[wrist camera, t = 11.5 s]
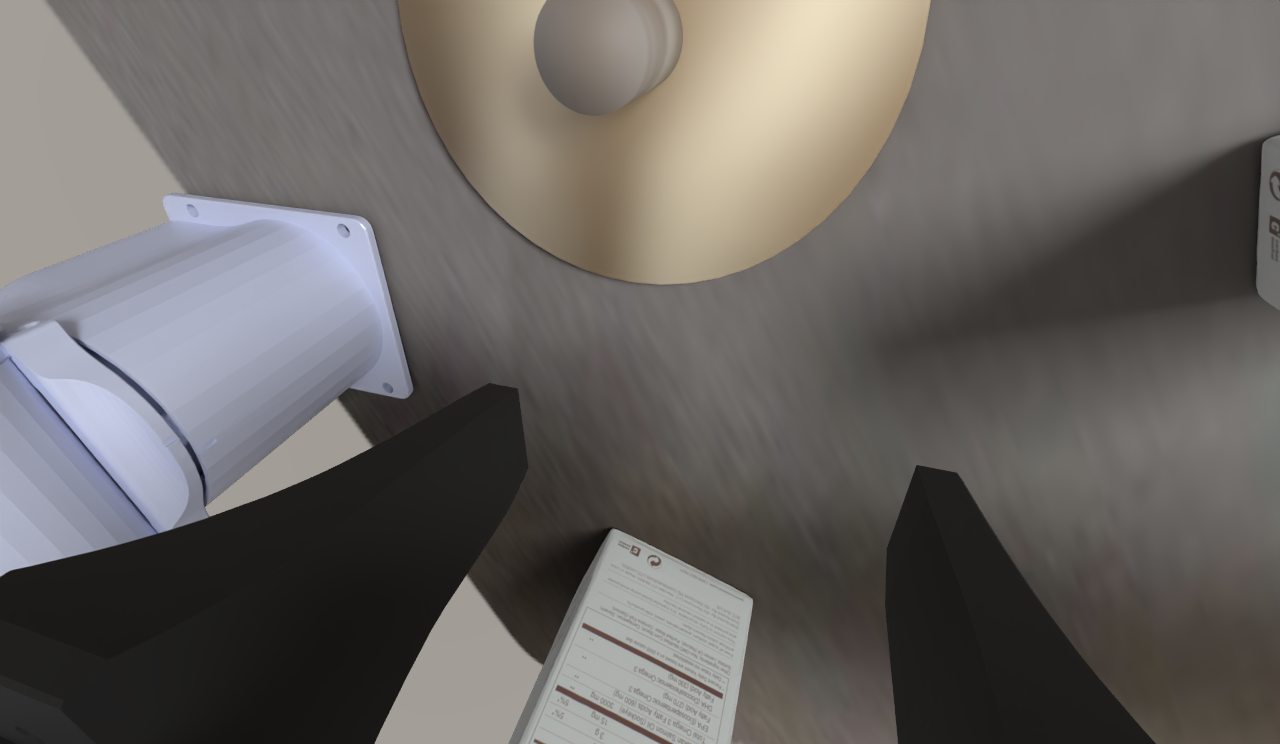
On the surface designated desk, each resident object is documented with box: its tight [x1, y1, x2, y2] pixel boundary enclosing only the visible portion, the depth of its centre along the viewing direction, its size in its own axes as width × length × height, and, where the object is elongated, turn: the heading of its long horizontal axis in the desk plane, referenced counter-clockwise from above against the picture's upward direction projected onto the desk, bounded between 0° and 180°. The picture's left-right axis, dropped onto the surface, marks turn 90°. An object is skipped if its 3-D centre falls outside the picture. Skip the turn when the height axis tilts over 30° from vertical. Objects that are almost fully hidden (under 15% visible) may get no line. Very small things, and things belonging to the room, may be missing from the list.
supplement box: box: [509, 529, 753, 744], centre depth 24 cm, size 7×7×13 cm
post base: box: [398, 0, 930, 285], centre depth 15 cm, size 14×14×4 cm
